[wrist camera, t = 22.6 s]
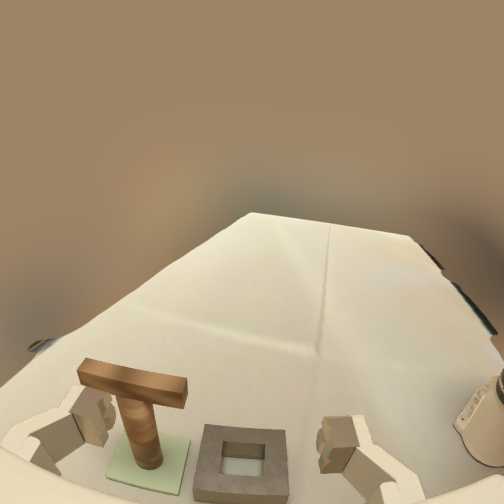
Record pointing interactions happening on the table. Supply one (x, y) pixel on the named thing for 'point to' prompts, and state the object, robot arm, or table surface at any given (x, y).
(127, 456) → the key mat
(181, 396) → the chuck key
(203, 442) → the block
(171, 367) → the table surface
